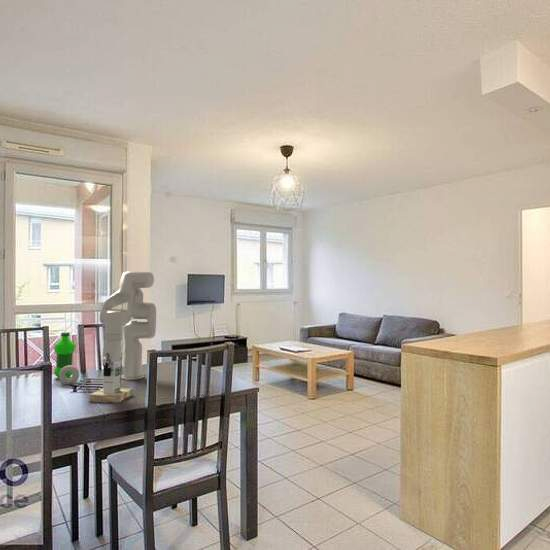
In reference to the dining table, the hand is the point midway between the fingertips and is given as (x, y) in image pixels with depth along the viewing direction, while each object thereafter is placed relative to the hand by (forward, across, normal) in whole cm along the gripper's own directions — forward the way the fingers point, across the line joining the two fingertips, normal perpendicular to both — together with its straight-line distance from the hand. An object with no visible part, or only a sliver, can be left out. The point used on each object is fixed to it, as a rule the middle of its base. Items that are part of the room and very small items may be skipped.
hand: (112, 373), depth 196 cm
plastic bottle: (+11, -32, -44) cm, 56 cm away
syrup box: (+8, 0, 0) cm, 8 cm away
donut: (+11, -19, -33) cm, 40 cm away
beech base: (+11, 0, 0) cm, 11 cm away
